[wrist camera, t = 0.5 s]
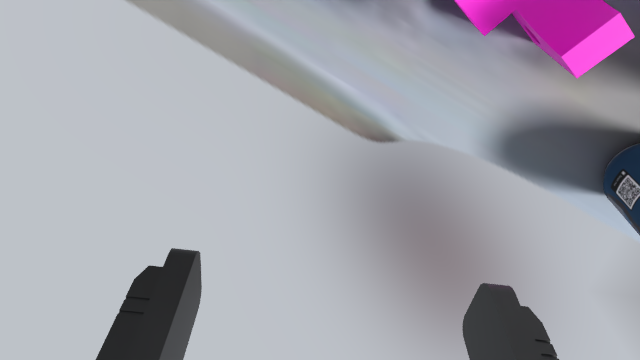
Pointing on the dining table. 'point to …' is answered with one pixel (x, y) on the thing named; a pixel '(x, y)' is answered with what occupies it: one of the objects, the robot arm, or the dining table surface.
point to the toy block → (558, 27)
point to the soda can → (625, 184)
